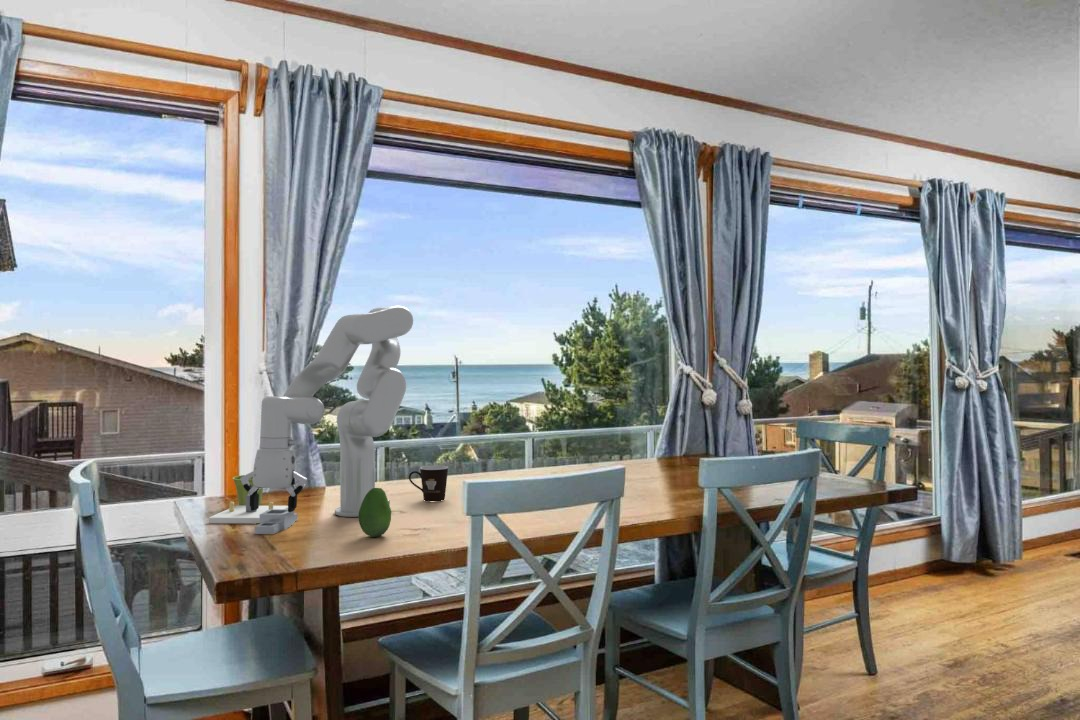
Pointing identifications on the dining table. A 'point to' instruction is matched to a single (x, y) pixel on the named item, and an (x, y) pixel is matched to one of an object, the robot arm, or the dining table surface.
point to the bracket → (275, 521)
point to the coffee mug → (432, 482)
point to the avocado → (375, 513)
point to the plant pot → (242, 492)
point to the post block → (242, 513)
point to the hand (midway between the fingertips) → (273, 510)
